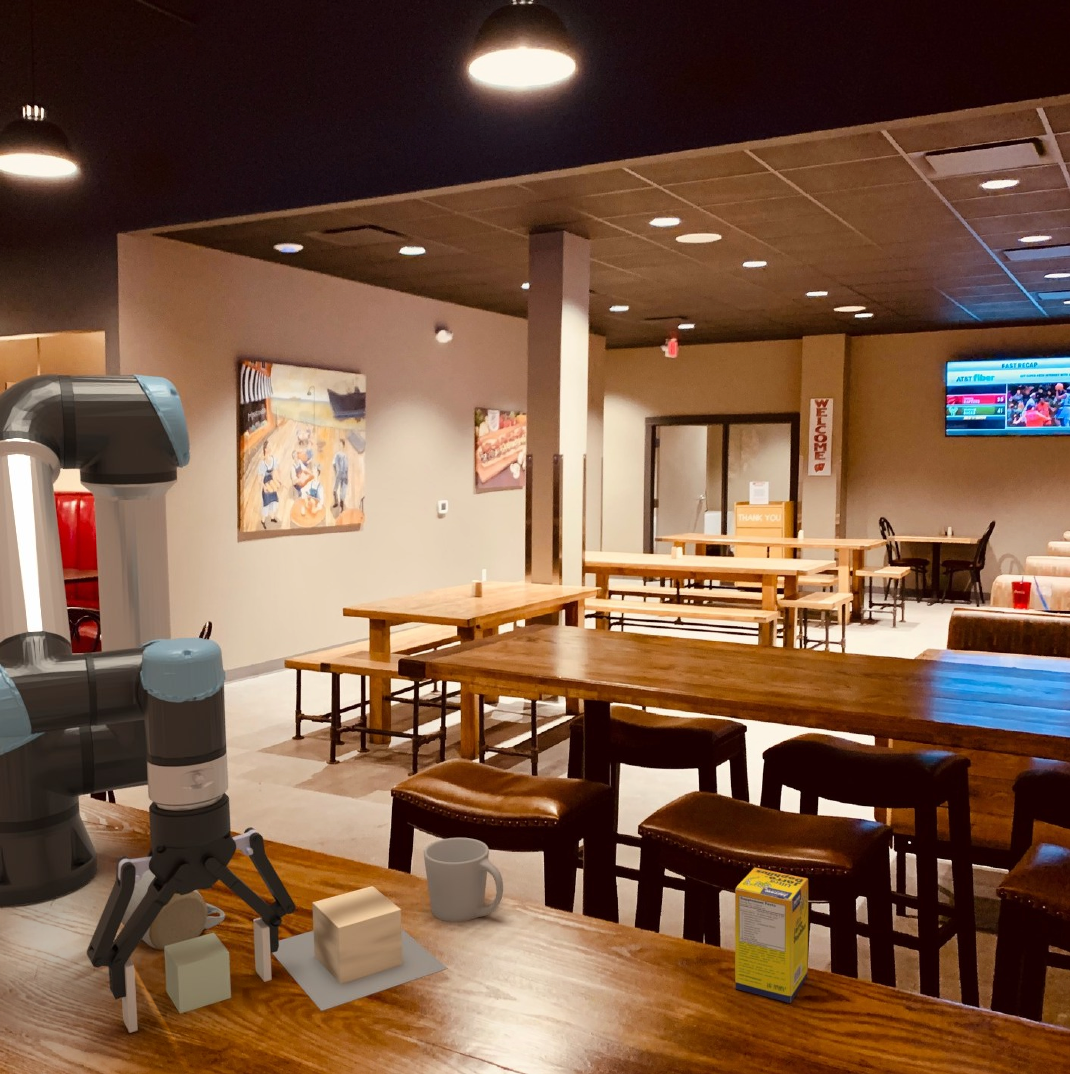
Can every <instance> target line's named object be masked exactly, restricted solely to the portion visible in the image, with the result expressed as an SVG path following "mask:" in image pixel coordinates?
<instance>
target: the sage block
mask: <svg viewBox="0 0 1070 1074" xmlns="http://www.w3.org/2000/svg"><path fill="white" fill-rule="evenodd" d="M163 950H164V968H165V969H164V971H165V987H166V988H165V990H166V993H167V995H168V997H170V1000H171V1001H172V1004H174V1006H175V1007H176V1009H177V1011H178V1013H179V1014H184V1013H187V1012H191V1011H193V1010H196V1009H200V1008H203V1007H205V1006H209V1005H212V1004H213V1005H214V1004H215V1003H219V1002H221V1001H224V1000H228V999H232V989H231V988H232V987H231V967H230V963H231V962H230V951H229V950H228V949H227V948H226V947H225V945H224V944H223V943H222V941H221V939H220V938H219V937H218V936H217V935H216V933H215V932H210V933H207V934H203V935H201V936H200V935H199V936H198V937H196V938H192V939H189V940H185V941H182V942H178V943H174V944H171V945H167V946H164V949H163Z"/></svg>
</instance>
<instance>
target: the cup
mask: <svg viewBox="0 0 1070 1074" xmlns="http://www.w3.org/2000/svg"><path fill="white" fill-rule="evenodd" d="M489 853H490V849H489V847H488V845H487V844H486V843H485V842H483V841H481V840H478V839H474V838H468V837H449V838H444V839H439V840H436V841H434V842H432V843H430V844H428V845H427V846H426V847H425V849H424V850H423V857H424V865H425V874H426V880H427V888H428V889H427V890H428V895H429V900H430V901H429V902H430V906H431V907H430V908H431V911H432V915H433V916H434V917H435V918H436V919H439V920H441V921H444V922H451V923H461V922H466V921H471V920H474V919H477V918H479V917H485V916H487V915H489V914H491V913H492V912H495V911H496V909H497V908H498V907H499V905H500V904H501V901H502V899H503V893H504V881H503V877H502V874H501V872H500V870H499V868H498V867H496V865H494V864H493V863H492V862H491V861H490V860H489ZM488 873H489V874H490V875H491V876H492V878H493V880H494V883H495V890H496V893H495V898H494V900H493V902H492V903H491V904H489V905H485V904H484V902H485V895H486V888H487V879H488V878H487V876H488Z"/></svg>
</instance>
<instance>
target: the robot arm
mask: <svg viewBox="0 0 1070 1074" xmlns="http://www.w3.org/2000/svg"><path fill="white" fill-rule="evenodd" d="M188 430H189V428H188V423H187V420H186V414H185V410H184V406H183V404H182V400H181V396H180V394H179V392H178V389H177V388H176V386H175V385H174V384H173V383H172V381H170V380H169V379H167V378H165V377H162V376H151V375H140V374H136V373H135V374H116V375H115V374H111V375H110V374H107V375H105V374H103V375H102V374H98V375H96V374H94V375H93V374H89V375H88V374H58V373H46V374H38V375H35V376H30V377H28V378H24V379H22V380H21V381H18V382H16V383H14V384H12V385H11V386H9V387H8V388H7V389H5V390H4V391H2V392H1V393H0V907H10V906H11V907H13V906H24V905H28V904H29V905H31V904H36V903H41V902H44V901H49V900H52V899H57V898H60V897H62V896H65V895H67V894H69V893H73V892H74V891H76V890H79V889H80V888H82V887H84V886H86V885H87V884H88V883H90V882H91V881H92V880H93V879H94V878H95V877H96V875H97V873H98V870H99V869H98V856H97V855H98V853H97V851H96V849H95V846H94V844H93V842H92V839H91V837H90V835H89V832H88V830H87V828H86V825H85V823H84V821H83V819H82V816H81V813H80V798H79V797H80V796H85V795H91V794H98V793H104V792H105V793H106V792H109V791H110V792H111V791H116V790H125V789H129V788H135V787H143V786H147V792H148V794H147V797H148V799H149V800H150V801H151V804H149V807H148V810H149V811H148V812H149V813H148V814H149V830H150V831H149V833H150V849H149V852H148V854H147V856H145V857H137V858H131V859H130V858H129V857H128V856H127V855H122V856H120V857H118V859H117V860H116V873H115V882H114V884H113V887H112V889H111V891H110V894H109V896H108V898H107V900H106V904H105V905H104V909H103V910H102V913H101V916H100V918H99V921H98V923H97V925H96V928H95V930H94V933H93V935H92V938H91V939H90V942H89V945H88V948H87V949H86V955H87V958H88V960H89V961H90V963H91V966H92V967H94V968H101V967H108V979H109V981H108V982H109V990H110V992H111V994H112V996H113V998H114V999H115V1000H118V999H121V1006H122V1008H121V1009H122V1010H121V1011H122V1021H123V1023H124V1025H125V1027H126V1029H127V1031H128V1033H129V1034H130V1033H133V1032H137V1031H138V1030H139V1029H138V1012H137V1011H138V1010H137V993H136V990H137V989H136V977H135V976H136V974H135V973H136V972H135V965H134V963H133V961H132V959H131V955H132V954H133V952H134V951H135V950H136V948H137V946H139V944H140V942H141V941H142V938H143V936H144V935H145V933H146V932H147V930H148V929H149V927H150V926H151V924H152V923H153V921H154V920H155V918H156V917H157V915H158V914H159V912H160V911H161V909H162V908H163V906H165V905H167V904H168V903H169V901H170V900H171V898H172V897H173V895H174V894H175V893H177V894H180V895H185V894H189V893H191V892H193V891H195V890H197V891H198V890H208V889H212V888H213V886H214V885H215V884H216V883H217V882H218V881H220V882H221V883H222V884H223V885H225V886H226V887H227V888H228V889H229V890H230V891H231V892H233V893H234V894H235V895H236V896H237V897H238V898H239V899H241V900H242V901H243V902H244V903H245V904H246V905H247V906H248V907H249V908H251V909H252V910H253V911H254V912H256V913H257V914H258V916H260V917H257V918H254V919H253V943H254V963H255V967H254V968H255V972H256V974H257V975H258V976H259V977H260V978H261V980H263V982H264V983H265V982H268V981H272V959H271V957H272V956H271V954H272V953H273V952H277V951H278V948H279V927H280V926H281V925H282V924H283V923H282V922H283V920H282V917H284V916H286V915H291V914H293V913H294V912H295V911H296V909H297V908H296V907H297V906H296V903H295V902H294V900H293V899H292V897H291V896H290V893H289V892H288V890H287V888H286V887H285V885H284V884H283V882H282V880H281V878H280V877H279V875H278V873H277V872H276V870H275V868H274V866H273V864H272V863H271V862H270V860H269V858H268V856H267V855H266V849H265V843H264V842H265V841H264V837H263V835H261V834H260V833H259V831H257V830H256V829H254V827H247V828H246V829H245V830H244V831H243V833H242V834H239V835H235V836H233V837H232V833H231V811H230V810H231V809H230V808H231V807H230V796H229V795H227V793H226V792H227V791H228V790H229V776H228V775H229V771H228V754H227V735H226V734H227V732H226V728H227V727H226V708H225V707H226V705H225V704H226V703H225V700H226V699H225V681H226V671H225V669H224V666H223V665H224V664H223V653H222V648H221V646H220V644H219V643H217V642H216V641H214V640H213V639H208V638H207V639H205V638H201V637H179V638H171V637H172V632H171V631H172V630H171V609H170V607H171V603H170V581H169V554H168V553H169V552H168V529H167V526H168V525H167V523H168V522H167V502H166V501H167V499H166V495H167V493H168V491H169V490H170V489H171V488H172V487H173V486H174V485H175V484H176V483H177V482H178V468H181V469H182V468H184V467H187V466H188V464H189V463H190V459H191V454H190V453H191V452H190V449H191V447H190V445H191V444H190V434H189V431H188ZM61 469H63V470H79V479H80V484H81V485H82V486H83V487H84V488H85V489H86V490H88V491H89V492H90V493H91V494H92V496H93V498H94V499H93V500H94V516H95V535H96V536H95V537H96V538H95V539H96V559H97V578H98V579H97V580H98V597H99V599H98V600H99V619H100V640H101V642H100V643H101V651H95V652H83V653H73V650H72V640H71V631H70V624H69V623H70V622H69V614H68V605H67V598H66V597H67V595H66V587H65V580H64V569H63V559H62V552H61V551H62V550H61V544H60V543H61V540H60V534H59V533H60V532H59V526H58V517H57V508H56V498H55V491H54V484H55V483H56V481H57V480H58V479H59V476H60V474H61ZM236 850H240V852H241V853H242V854H243V855H244V856H247V857H249V860H250V861H251V862H252V864H253V866H254V868H255V869H256V870H257V872H258V874H259V876H260V877H261V879H262V881H263V883H264V884H265V886H266V887H267V889H268V891H269V893H270V894H271V896H272V898H273V899H274V901H273V902H272V903H271V904H268V903H267V902H266V901H265V900H264V899H263V898H262V897H261V896H260V895H259V894H257V893H256V892H255V891H254V890H253V889H252V888H251V887H249V886H248V885H247V884H246V883H245V882H244V881H243V880H241V878H239V877H238V875H237V874H235V873H234V872H233V871H232V870H231V869H230V868H229V867H228V865H229V864H230V862H231V860H232V859H233V857H234V855H235V853H236ZM147 870H150V871H151V872H152V873H153V874H154V875H155V878H154V879H153V880H152V882H151V883H150V885H149V887H148V890H147V893H146V894H145V896H144V897H143V899H142V900H141V902H140V903H139V905H138V906H137V908H136V909H135V911H134V912H133V914H132V915H131V917H130V918H129V920H128V921H127V923H126V924H125V926H124V925H123V927H122V928H121V930H120V932H119V933H118V931H119V929H120V926H121V924H122V919H123V917H124V914H125V912H126V909H127V907H128V904H129V902H130V900H131V897H132V894H133V891H134V887H135V883H137V882H139V881H140V880H141V878H142V875H143V873H144V872H145V871H147Z"/></svg>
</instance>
